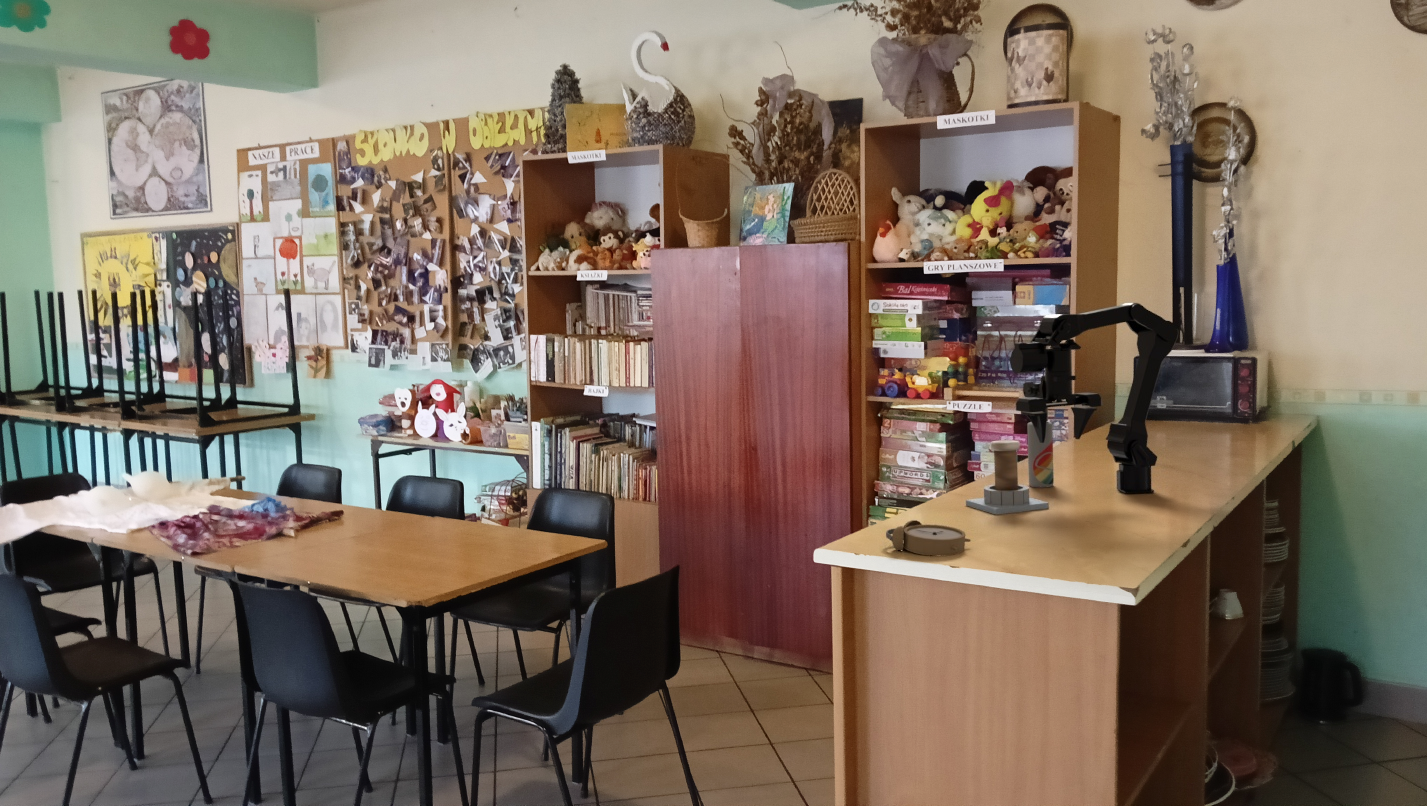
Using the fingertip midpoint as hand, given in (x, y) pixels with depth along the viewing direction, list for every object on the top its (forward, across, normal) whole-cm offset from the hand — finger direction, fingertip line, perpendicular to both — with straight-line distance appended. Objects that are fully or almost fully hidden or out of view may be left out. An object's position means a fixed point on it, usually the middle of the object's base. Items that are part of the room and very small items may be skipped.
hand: (1059, 441), depth 238 cm
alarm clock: (+14, +48, +27) cm, 57 cm away
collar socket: (+13, +15, +2) cm, 20 cm away
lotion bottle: (+13, -6, -16) cm, 22 cm away
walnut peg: (+12, +15, +2) cm, 19 cm away
